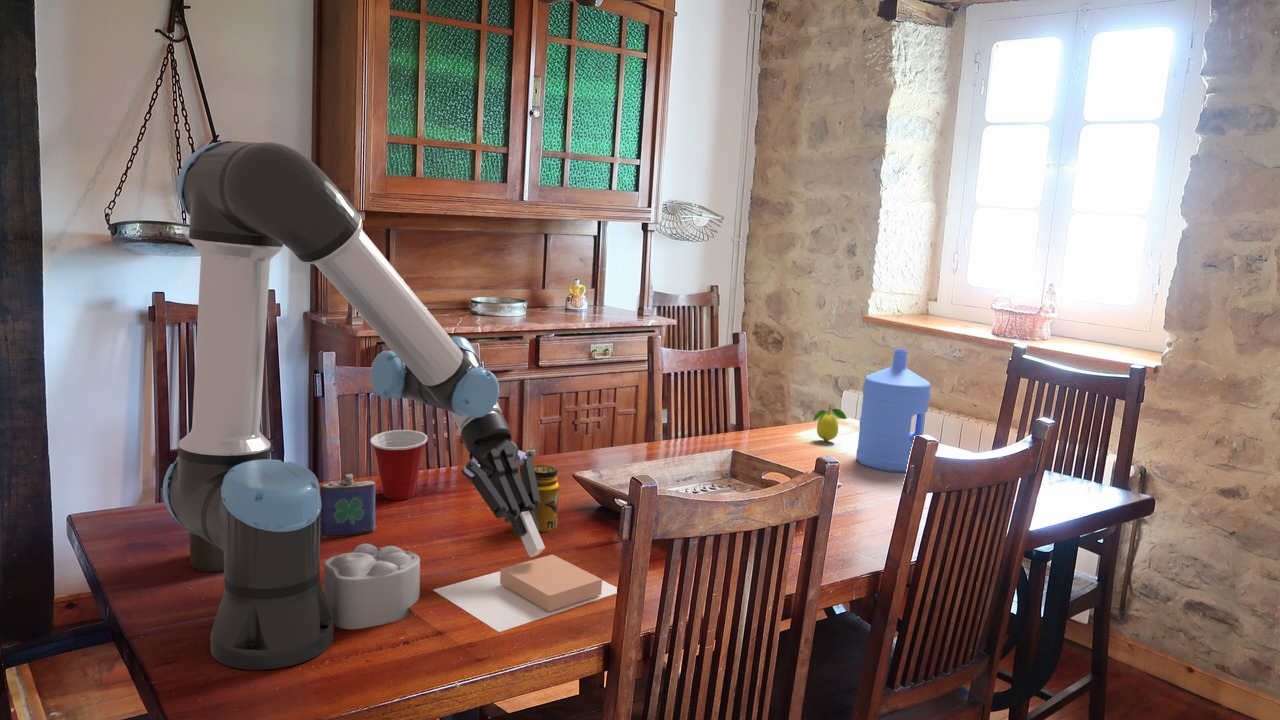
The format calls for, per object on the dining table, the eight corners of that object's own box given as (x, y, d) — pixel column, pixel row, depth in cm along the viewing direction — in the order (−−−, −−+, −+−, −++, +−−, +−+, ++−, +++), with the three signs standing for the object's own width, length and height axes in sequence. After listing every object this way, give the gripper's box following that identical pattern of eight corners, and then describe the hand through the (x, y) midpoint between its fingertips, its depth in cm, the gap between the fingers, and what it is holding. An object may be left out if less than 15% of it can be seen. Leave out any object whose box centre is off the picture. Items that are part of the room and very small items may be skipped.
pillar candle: (187, 574, 144) (186, 480, 141) (191, 550, 153) (190, 461, 150) (256, 569, 148) (257, 477, 145) (256, 546, 156) (256, 459, 154)
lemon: (844, 444, 247) (847, 406, 245) (827, 446, 243) (831, 408, 242) (826, 437, 252) (830, 401, 250) (809, 439, 249) (813, 402, 247)
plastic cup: (358, 499, 182) (358, 439, 180) (389, 484, 192) (390, 427, 190) (407, 508, 179) (408, 447, 177) (437, 492, 189) (438, 434, 187)
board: (498, 640, 129) (499, 632, 129) (432, 597, 141) (432, 589, 141) (622, 598, 145) (623, 590, 145) (553, 562, 157) (554, 556, 157)
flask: (373, 527, 168) (374, 469, 166) (376, 533, 165) (377, 474, 163) (319, 533, 164) (319, 474, 162) (321, 539, 161) (321, 479, 159)
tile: (499, 585, 144) (548, 613, 136) (500, 568, 144) (549, 595, 135) (551, 570, 151) (601, 596, 142) (552, 554, 150) (602, 579, 142)
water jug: (862, 470, 223) (874, 353, 218) (850, 453, 238) (861, 343, 233) (929, 475, 222) (943, 358, 217) (912, 457, 238) (925, 347, 233)
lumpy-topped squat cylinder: (318, 604, 137) (318, 547, 135) (404, 587, 144) (405, 533, 143) (341, 633, 129) (342, 573, 127) (431, 613, 136) (433, 556, 135)
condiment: (565, 536, 170) (568, 471, 168) (523, 543, 165) (525, 477, 163) (546, 523, 176) (549, 460, 173) (505, 529, 171) (507, 465, 169)
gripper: (504, 430, 161) (559, 554, 152) (437, 440, 153) (491, 572, 144) (524, 406, 157) (582, 533, 148) (455, 415, 148) (513, 551, 139)
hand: (537, 552), depth 146 cm, fingers closed
